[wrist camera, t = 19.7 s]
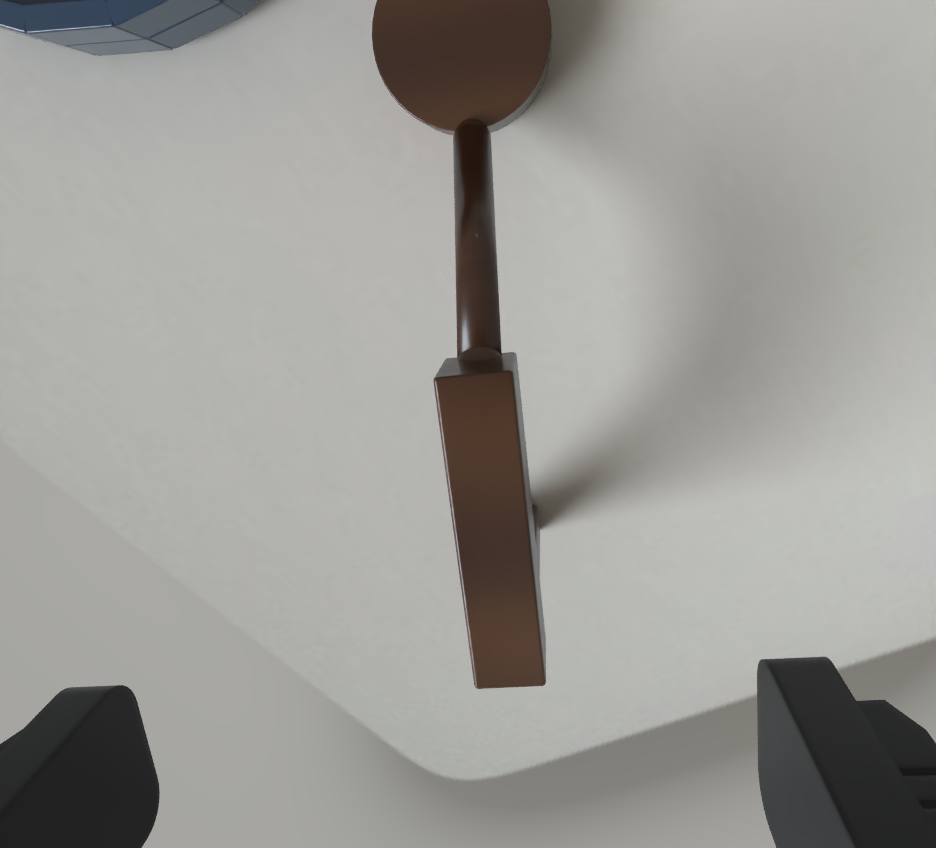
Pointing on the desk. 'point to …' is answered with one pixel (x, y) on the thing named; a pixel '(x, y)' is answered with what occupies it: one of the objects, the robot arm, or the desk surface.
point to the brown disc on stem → (479, 308)
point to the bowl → (119, 22)
